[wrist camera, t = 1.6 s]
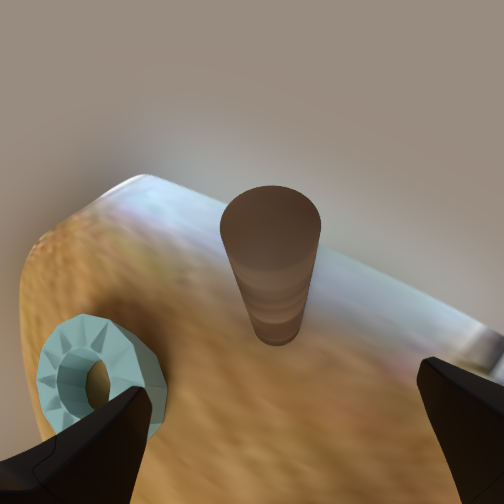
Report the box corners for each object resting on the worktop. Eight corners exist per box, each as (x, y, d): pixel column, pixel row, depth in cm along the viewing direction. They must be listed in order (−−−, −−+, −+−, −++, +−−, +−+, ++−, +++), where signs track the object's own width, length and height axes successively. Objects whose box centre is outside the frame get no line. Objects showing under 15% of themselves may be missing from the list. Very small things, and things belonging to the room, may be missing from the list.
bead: (186, 434, 17) (166, 440, 13) (84, 455, 15) (55, 457, 12) (144, 312, 22) (121, 295, 19) (57, 348, 21) (31, 337, 17)
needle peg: (308, 333, 20) (340, 240, 9) (265, 353, 20) (243, 285, 9) (287, 294, 22) (289, 174, 11) (246, 313, 21) (206, 207, 10)
